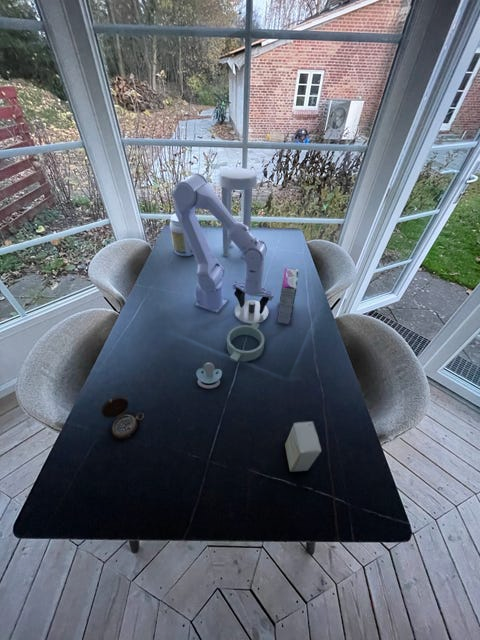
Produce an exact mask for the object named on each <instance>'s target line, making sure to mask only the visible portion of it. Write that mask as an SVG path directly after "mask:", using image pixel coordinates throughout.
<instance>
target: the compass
mask: <svg viewBox="0 0 480 640" xmlns="http://www.w3.org/2000/svg"><path fill="white" fill-rule="evenodd" d="M128 408H129V401H128V399H127V398H126V397H125V396H121V395H120V396H114V397H111V398H110V399H108V400H107V401H105V402H104V403H103V404H102V406H101V411H100V412H101V415H102V416H103V417H104V418H107V419H112V418H115V419H114V420H113V422H112V423H111V427H110V433H111V435H112V436H113V437H114V438H116V439H119V440H123V439H126V438H130V436H132V435H133V434H134V433H135V431H137V428H138V421H141V420H142V419H143V418H144V417H145V416H144V413H143V412H139V413H137V414H136V416H135V415H134V414H132V413H125V412H126V411H127V410H128ZM141 414H142V418H139V415H141Z"/></svg>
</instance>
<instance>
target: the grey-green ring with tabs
mask: <svg viewBox="0 0 480 640" xmlns="http://www.w3.org/2000/svg"><path fill="white" fill-rule="evenodd" d="M259 328H260V323H255V322H253V323H252V324H247V325H246V324H242V325H238V326H235V327H233V328H231V329H230V330H229V332H228V334H227V335H226V336H227V337H226V349H227V351H228V354H229V355H230V356H229V360H230V361H233V362H234V363H238V362H242V363H247V362H249V361H253V360H256V359H258V358H259V357H260V356H261V355H262V354H263V351H264V346H265V335H264V334H263V332H262V331H261V330H260V329H259ZM240 336H250V337H253V338H255V340H257V341H258V342H259V345H258V346H257V347H256V348H254V349H250V350H241V349H239V348H236V347H235V346H234V345H233V344H232V341H233V340H234V339H235V338H238V337H240Z"/></svg>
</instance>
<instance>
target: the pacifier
mask: <svg viewBox="0 0 480 640" xmlns="http://www.w3.org/2000/svg"><path fill="white" fill-rule="evenodd" d="M202 372H203V373H202ZM222 375H223V371H222V370H221V369H220V368H215V365H214V364H213V363H212V362H206V363H204V365H203V367H201V368H198V369H197V370H196V378H197V379H198V380H197V385H198V386H199V387H201V388H203V389H215V388H217V387H218V386H220V384H221V380H220V379H221V378H222Z"/></svg>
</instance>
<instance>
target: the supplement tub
mask: <svg viewBox="0 0 480 640" xmlns="http://www.w3.org/2000/svg"><path fill="white" fill-rule="evenodd" d="M169 231H170V236H171V241H172V247H173V252H174V253H175V254H176V255H178V256H180V257H190V256H194V254H193V252H192V250H191V247H190V245H189V243H188V241H187V238H186V236H185V234H184V232H183V229H182V227H181V225H180V223H179V220H178V218H177V216H176V213H175V212H174V213H173V214H171V215H170V223H169Z"/></svg>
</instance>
